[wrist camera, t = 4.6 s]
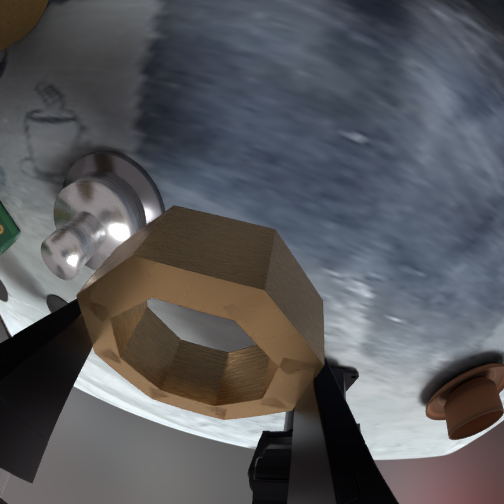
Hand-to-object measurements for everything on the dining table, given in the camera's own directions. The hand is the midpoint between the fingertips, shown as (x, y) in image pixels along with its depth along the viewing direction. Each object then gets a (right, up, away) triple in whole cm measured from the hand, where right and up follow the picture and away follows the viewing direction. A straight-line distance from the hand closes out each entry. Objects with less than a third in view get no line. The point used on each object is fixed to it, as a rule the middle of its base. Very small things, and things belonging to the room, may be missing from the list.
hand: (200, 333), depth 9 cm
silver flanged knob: (-9, +6, +11) cm, 15 cm away
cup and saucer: (+28, -13, +17) cm, 35 cm away
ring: (0, +1, +1) cm, 1 cm away
